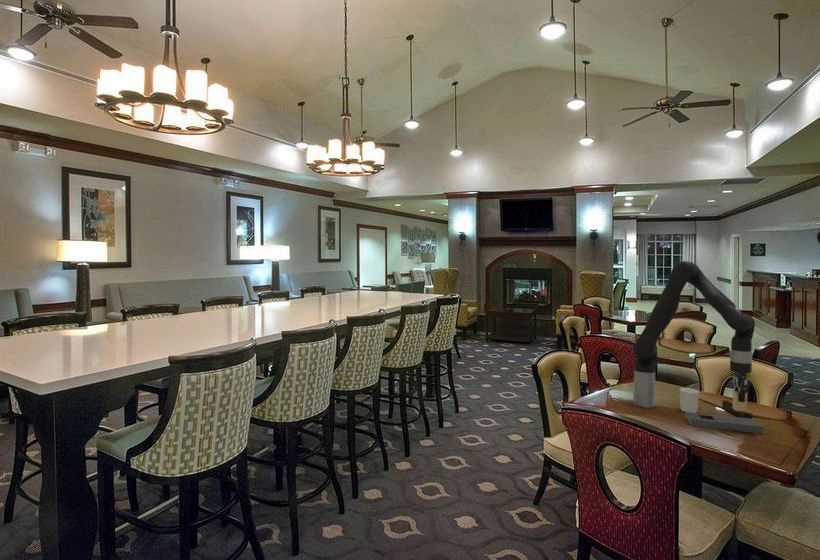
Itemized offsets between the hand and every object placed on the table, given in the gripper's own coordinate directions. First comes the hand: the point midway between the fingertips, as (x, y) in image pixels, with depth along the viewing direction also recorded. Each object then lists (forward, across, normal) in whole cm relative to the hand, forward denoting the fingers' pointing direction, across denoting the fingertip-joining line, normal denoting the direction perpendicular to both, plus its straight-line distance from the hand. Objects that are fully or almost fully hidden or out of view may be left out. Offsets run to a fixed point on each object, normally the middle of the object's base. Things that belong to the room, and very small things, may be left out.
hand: (739, 400), depth 192 cm
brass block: (+4, 0, 0) cm, 4 cm away
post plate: (+12, 0, -6) cm, 13 cm away
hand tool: (+13, -20, +4) cm, 24 cm away
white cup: (+12, -18, -15) cm, 26 cm away
